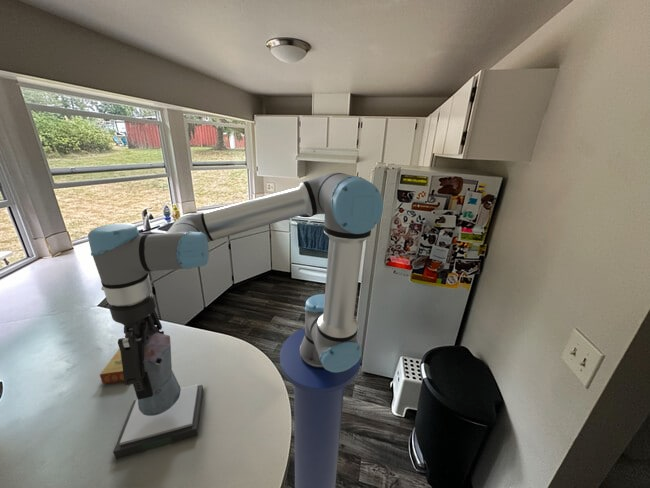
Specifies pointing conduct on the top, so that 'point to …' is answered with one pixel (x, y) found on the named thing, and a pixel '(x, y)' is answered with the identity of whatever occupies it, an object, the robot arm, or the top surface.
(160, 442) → the kitchen scale
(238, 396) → the top surface
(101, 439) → the top surface
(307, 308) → the robot arm
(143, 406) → the moka pot
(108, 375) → the carton
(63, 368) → the top surface
